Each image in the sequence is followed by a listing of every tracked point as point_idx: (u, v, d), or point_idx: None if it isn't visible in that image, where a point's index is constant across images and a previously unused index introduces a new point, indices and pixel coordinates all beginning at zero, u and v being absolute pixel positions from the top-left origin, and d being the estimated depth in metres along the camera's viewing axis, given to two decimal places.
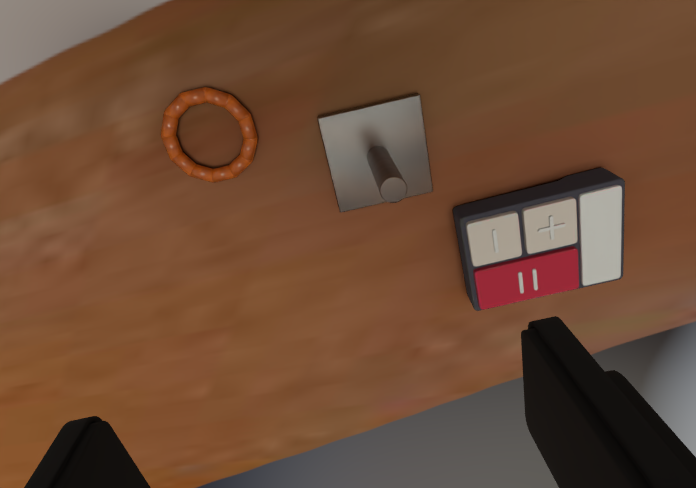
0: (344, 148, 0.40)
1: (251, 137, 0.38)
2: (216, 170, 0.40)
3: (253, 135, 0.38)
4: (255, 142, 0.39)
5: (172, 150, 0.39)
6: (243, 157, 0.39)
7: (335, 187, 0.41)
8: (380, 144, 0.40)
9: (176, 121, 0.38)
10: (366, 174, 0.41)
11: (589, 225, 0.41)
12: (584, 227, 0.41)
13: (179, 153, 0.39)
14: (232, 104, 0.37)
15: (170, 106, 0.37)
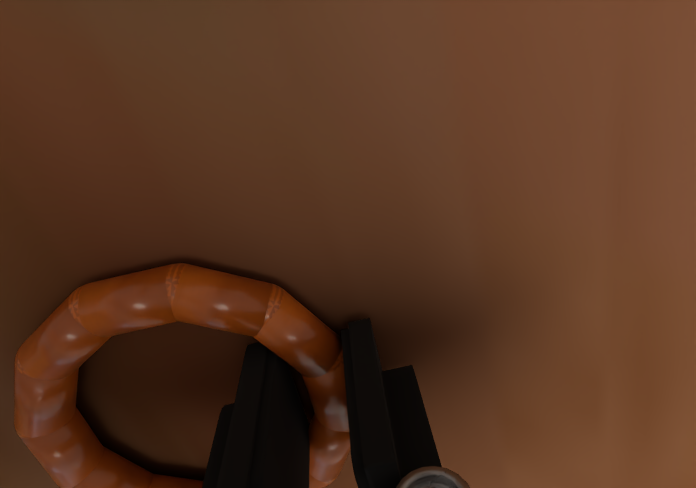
0: None
1: (160, 299, 0.09)
2: (316, 411, 0.11)
3: (154, 291, 0.09)
4: (187, 282, 0.09)
5: None
6: (254, 333, 0.09)
7: None
8: None
9: None
10: None
11: None
12: None
13: None
14: (36, 359, 0.09)
15: None
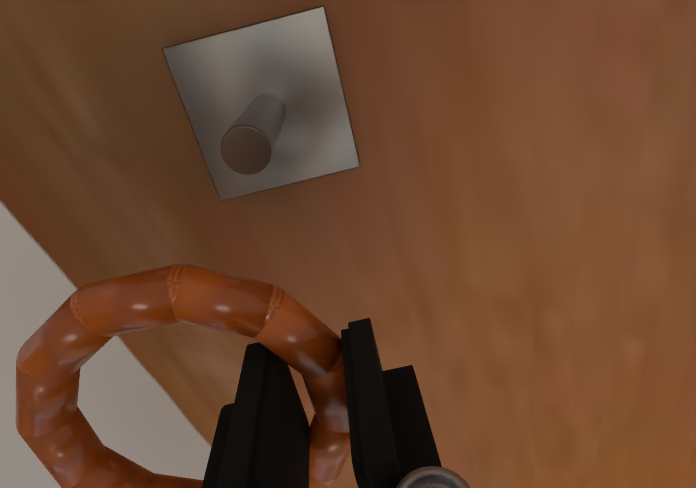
0: None
1: (161, 300, 0.09)
2: (317, 412, 0.11)
3: (155, 291, 0.09)
4: (188, 283, 0.09)
5: None
6: (255, 333, 0.09)
7: (319, 175, 0.27)
8: None
9: None
10: (296, 129, 0.26)
11: None
12: None
13: None
14: (38, 359, 0.09)
15: None
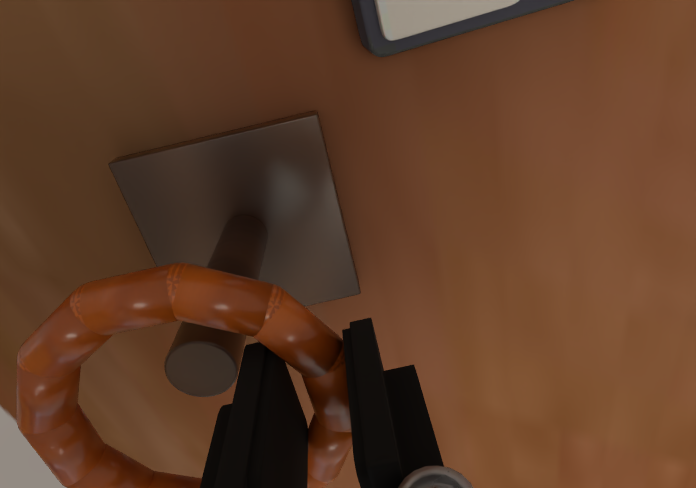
0: None
1: (161, 298, 0.09)
2: (316, 411, 0.11)
3: (154, 290, 0.09)
4: (188, 282, 0.09)
5: None
6: (254, 333, 0.09)
7: (310, 303, 0.22)
8: (220, 231, 0.20)
9: None
10: (281, 254, 0.21)
11: None
12: None
13: None
14: (38, 356, 0.09)
15: None
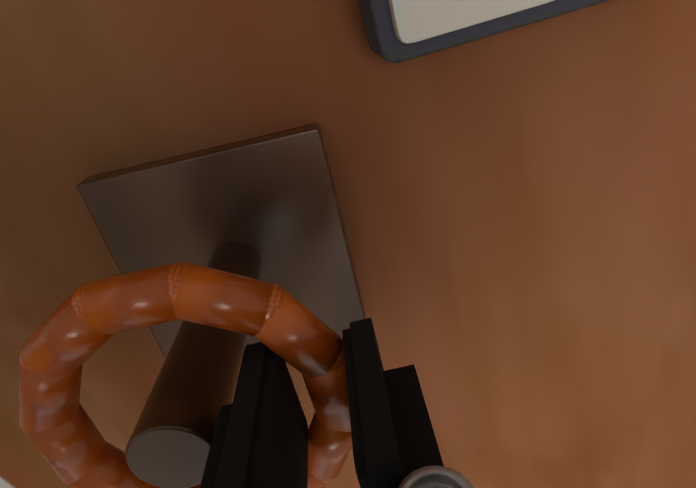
0: None
1: (161, 298, 0.09)
2: (316, 411, 0.11)
3: (155, 289, 0.09)
4: (188, 281, 0.09)
5: None
6: (255, 332, 0.09)
7: None
8: (207, 260, 0.18)
9: None
10: None
11: None
12: None
13: None
14: (40, 355, 0.09)
15: None
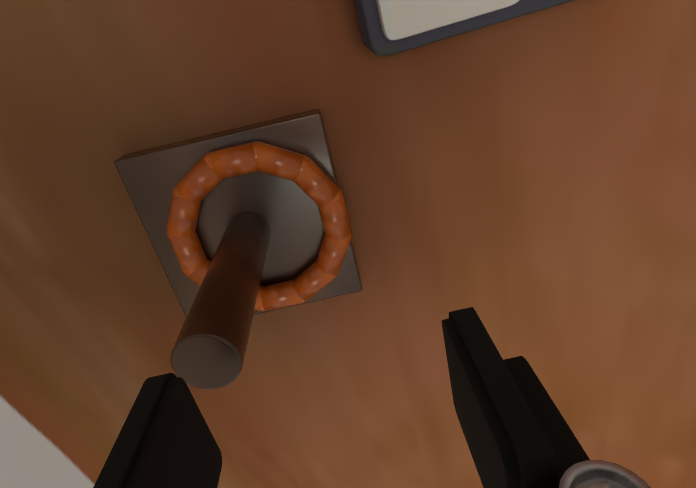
0: None
1: (250, 155, 0.18)
2: (325, 229, 0.20)
3: (247, 151, 0.18)
4: (263, 148, 0.18)
5: (287, 299, 0.21)
6: (295, 176, 0.18)
7: (312, 300, 0.23)
8: (224, 228, 0.20)
9: None
10: (284, 251, 0.21)
11: None
12: None
13: (293, 287, 0.21)
14: (186, 188, 0.18)
15: None
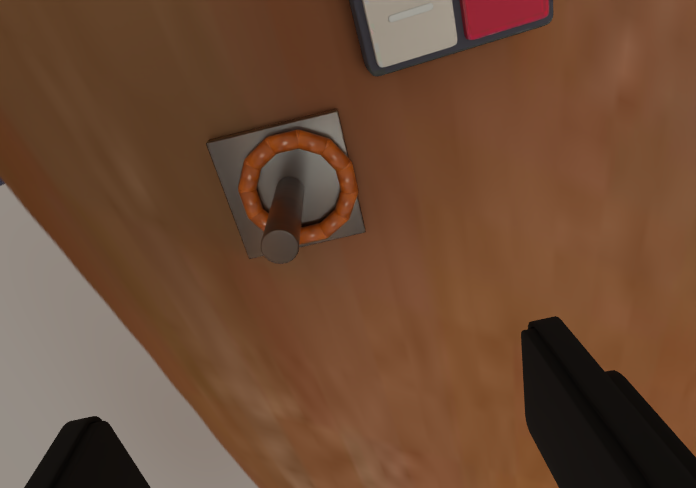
0: None
1: (294, 138, 0.29)
2: (341, 187, 0.30)
3: (292, 135, 0.29)
4: (302, 133, 0.29)
5: (315, 235, 0.32)
6: (322, 151, 0.29)
7: (331, 238, 0.33)
8: (274, 187, 0.31)
9: None
10: (313, 203, 0.32)
11: None
12: None
13: (319, 227, 0.32)
14: (253, 159, 0.29)
15: (263, 230, 0.31)
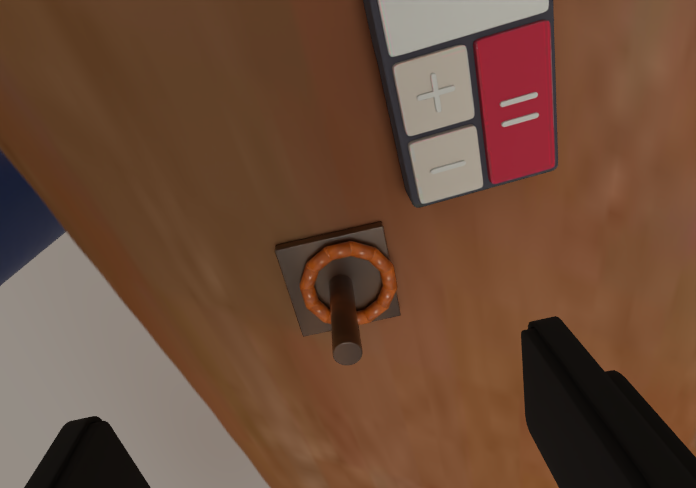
0: None
1: (348, 249, 0.35)
2: (384, 284, 0.37)
3: (347, 247, 0.35)
4: (355, 245, 0.35)
5: (360, 320, 0.38)
6: (370, 259, 0.36)
7: None
8: (327, 282, 0.38)
9: None
10: (359, 294, 0.39)
11: (439, 30, 0.27)
12: (441, 37, 0.27)
13: (364, 314, 0.38)
14: (314, 265, 0.36)
15: (318, 317, 0.38)
